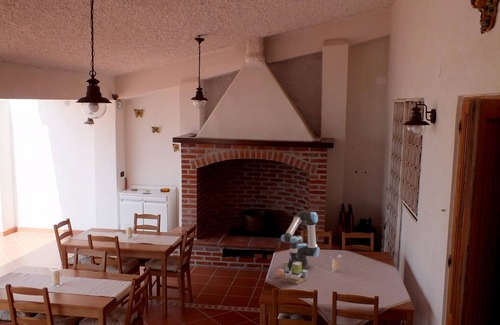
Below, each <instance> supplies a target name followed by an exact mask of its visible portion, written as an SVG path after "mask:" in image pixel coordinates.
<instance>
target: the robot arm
mask: <svg viewBox="0 0 500 325" xmlns="http://www.w3.org/2000/svg"><path fill="white" fill-rule="evenodd" d="M318 221H319V217H318V213H316V212H314V211H306V210H302V211H299V212H297V213H296V214H295V216H293V220H292V222H291V224H290V225H289V227H288V229H287V230H286V232H285V234H282V235H280V240H281V241H282V242H283V243H289V244H290V245H289V255H290V257H288V260H289V263H288V268H289V274H292V268H291V267H292V264H293V262H294V261H296V262H302V267H303V266H308V265H309V261H308V258H307V257H311V258H317V257H318V256H319V254H320V248H321V247H318V246H319V245H318V244H317V238H316V225H317V223H318ZM302 222H305V225H306V226H307V241H308V242H307V243H308V244H307V243H302V242H303V237H302V236H301V235H294V234H295V231H296V230H297V228H298V227H299V225H300V224H302Z"/></svg>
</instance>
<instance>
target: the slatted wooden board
mask: <svg viewBox="0 0 500 325" xmlns="http://www.w3.org/2000/svg"><path fill="white" fill-rule="evenodd" d="M306 280H307V279H306V278H304V277H301V276H300V277H299V278H294V277H289V276H284V278H282V279H280V282H281V281H282V282H285V283H287V284H288V283H289V284H292V285H294V286H295V285H296V286H299V285H301V284H302V283H304V282H306Z"/></svg>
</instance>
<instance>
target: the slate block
mask: <svg viewBox="0 0 500 325" xmlns="http://www.w3.org/2000/svg"><path fill="white" fill-rule="evenodd" d="M300 277H301V278H307V277H309V270H308V269H302V275H301V276H300Z"/></svg>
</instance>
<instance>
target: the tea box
mask: <svg viewBox="0 0 500 325" xmlns="http://www.w3.org/2000/svg"><path fill="white" fill-rule="evenodd" d="M288 263H289V259H288V260H287V261H286V262H285V263H284V264H285V268H284V277H287V276H289V277H294V278H299V277H300V278H301V277H302V276H301V275H302V270H303V269H302V268H303V266H302V262H296V261H294V262H293V264H292V267H291V268H292V274H289V268H288Z"/></svg>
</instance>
